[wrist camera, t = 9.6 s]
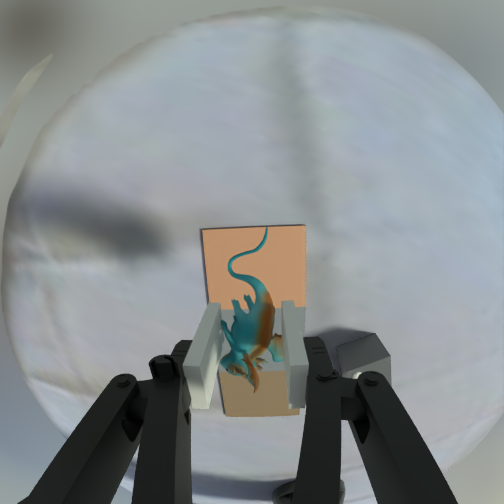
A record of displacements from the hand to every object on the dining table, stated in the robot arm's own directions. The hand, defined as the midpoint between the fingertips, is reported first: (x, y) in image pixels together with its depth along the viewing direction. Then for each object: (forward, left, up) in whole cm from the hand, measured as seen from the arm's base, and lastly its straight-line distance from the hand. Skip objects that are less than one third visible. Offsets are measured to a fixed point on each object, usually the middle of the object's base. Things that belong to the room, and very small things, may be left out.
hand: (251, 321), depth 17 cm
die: (-12, -12, -11) cm, 20 cm away
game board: (-9, 0, -11) cm, 14 cm away
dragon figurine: (0, 0, -1) cm, 1 cm away
